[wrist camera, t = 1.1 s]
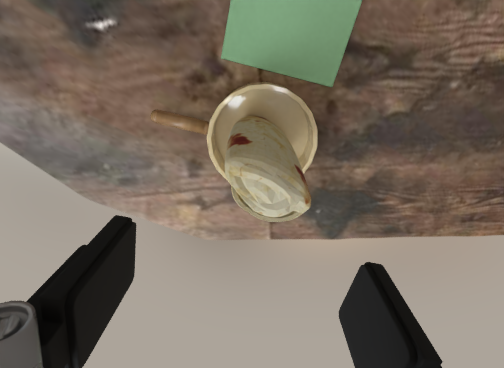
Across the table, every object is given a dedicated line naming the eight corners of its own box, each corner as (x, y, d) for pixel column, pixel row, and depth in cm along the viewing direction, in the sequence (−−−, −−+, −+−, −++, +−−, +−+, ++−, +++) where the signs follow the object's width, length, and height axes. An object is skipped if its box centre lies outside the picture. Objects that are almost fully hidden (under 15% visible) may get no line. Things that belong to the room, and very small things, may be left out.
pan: (204, 168, 43) (199, 179, 39) (222, 69, 37) (218, 71, 33) (294, 188, 45) (298, 201, 41) (325, 96, 38) (333, 100, 34)
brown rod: (153, 120, 38) (148, 122, 36) (154, 107, 37) (149, 109, 35) (211, 133, 38) (209, 137, 37) (214, 121, 38) (212, 124, 36)
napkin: (221, 58, 37) (221, 58, 36) (243, -72, 31) (243, -74, 31) (331, 87, 38) (332, 87, 38) (372, -33, 32) (373, -34, 32)
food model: (300, 136, 41) (336, 198, 22) (273, 169, 43) (286, 249, 25) (248, 96, 38) (242, 130, 20) (222, 133, 41) (196, 193, 22)
